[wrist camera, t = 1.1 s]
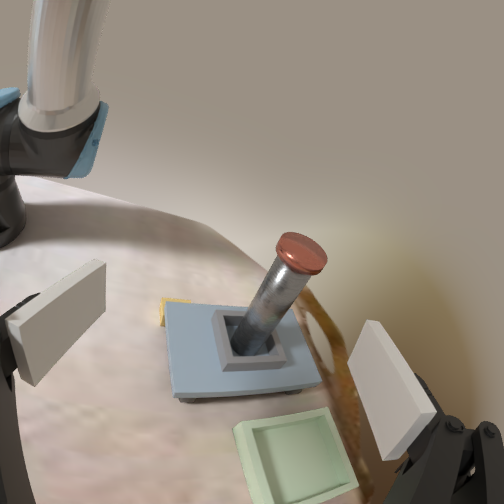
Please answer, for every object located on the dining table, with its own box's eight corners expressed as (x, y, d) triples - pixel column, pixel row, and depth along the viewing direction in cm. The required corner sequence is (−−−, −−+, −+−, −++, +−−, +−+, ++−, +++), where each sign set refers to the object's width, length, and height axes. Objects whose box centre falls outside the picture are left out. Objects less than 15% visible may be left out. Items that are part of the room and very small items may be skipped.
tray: (232, 428, 29) (240, 421, 27) (315, 415, 34) (327, 406, 32) (258, 519, 20) (269, 519, 19) (344, 490, 25) (359, 485, 24)
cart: (159, 308, 39) (167, 273, 35) (272, 315, 46) (291, 285, 42) (168, 408, 28) (178, 384, 24) (302, 397, 36) (331, 373, 32)
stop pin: (222, 328, 34) (273, 228, 26) (257, 329, 36) (314, 236, 28) (230, 361, 31) (291, 263, 23) (267, 360, 33) (335, 269, 24)
